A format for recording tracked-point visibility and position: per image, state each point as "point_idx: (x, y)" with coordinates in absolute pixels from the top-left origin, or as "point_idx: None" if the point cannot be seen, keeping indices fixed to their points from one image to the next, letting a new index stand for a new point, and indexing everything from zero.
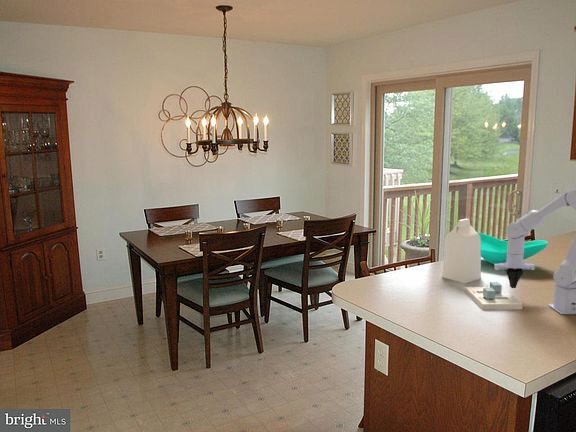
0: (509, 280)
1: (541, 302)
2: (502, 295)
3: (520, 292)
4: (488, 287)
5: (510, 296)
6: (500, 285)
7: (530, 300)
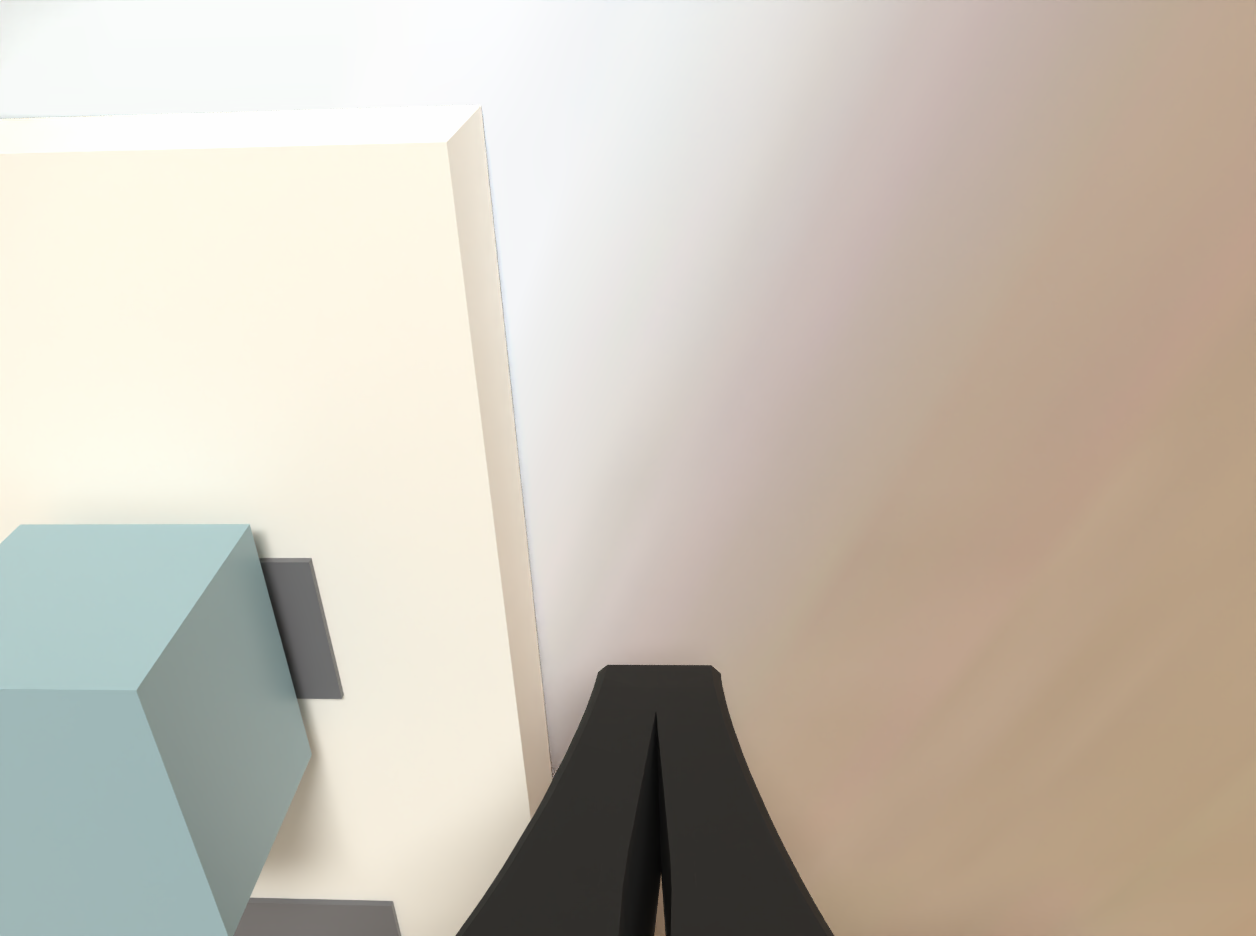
0: (547, 827)
1: (1135, 828)
2: (323, 827)
3: (1123, 156)
4: (17, 212)
5: (488, 878)
6: (195, 931)
7: (979, 733)
